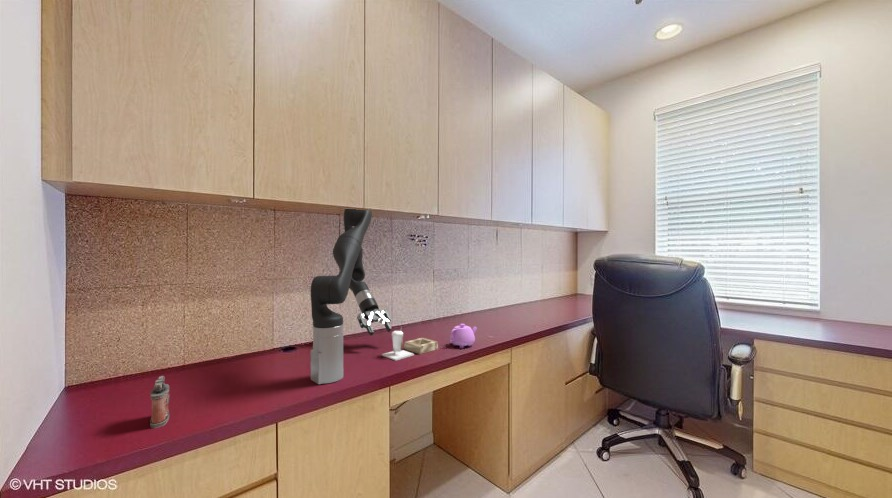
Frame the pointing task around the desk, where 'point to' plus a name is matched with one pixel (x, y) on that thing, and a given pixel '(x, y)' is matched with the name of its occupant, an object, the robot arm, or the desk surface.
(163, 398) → the lighter
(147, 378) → the desk surface
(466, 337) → the teapot
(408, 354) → the mat
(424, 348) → the holder
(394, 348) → the milkshake
